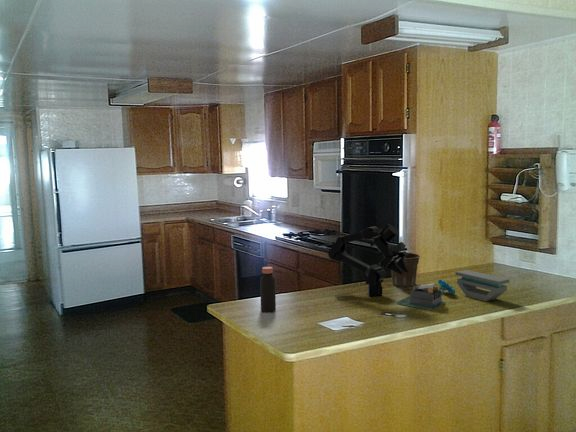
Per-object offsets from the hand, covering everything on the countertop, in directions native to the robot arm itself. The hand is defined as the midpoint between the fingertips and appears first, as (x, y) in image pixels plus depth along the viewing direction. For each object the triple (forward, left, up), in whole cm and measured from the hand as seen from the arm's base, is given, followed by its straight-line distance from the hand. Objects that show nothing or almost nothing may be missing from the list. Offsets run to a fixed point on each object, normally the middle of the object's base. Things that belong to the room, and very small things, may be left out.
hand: (404, 272), depth 255 cm
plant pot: (+9, +31, -14) cm, 35 cm away
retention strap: (+7, -8, -6) cm, 12 cm away
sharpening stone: (+38, +1, -14) cm, 41 cm away
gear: (+24, +10, -14) cm, 30 cm away
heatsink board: (+6, -6, -14) cm, 16 cm away
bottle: (-66, -7, -14) cm, 68 cm away
